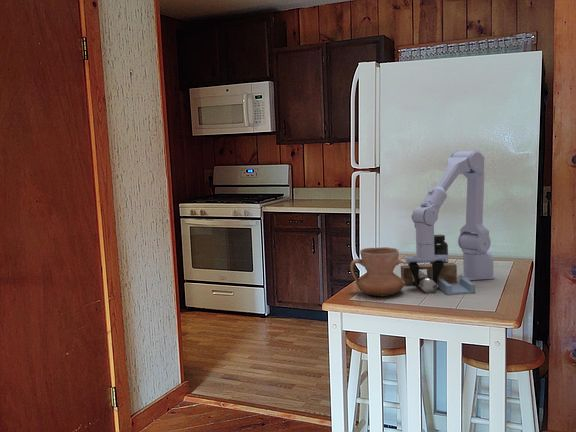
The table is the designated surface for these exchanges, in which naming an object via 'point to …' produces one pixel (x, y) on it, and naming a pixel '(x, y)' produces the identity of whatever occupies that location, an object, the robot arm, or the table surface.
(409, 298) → the table surface
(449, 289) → the cradle
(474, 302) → the table surface
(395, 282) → the ceramic jug
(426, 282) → the axle
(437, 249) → the supplement bottle
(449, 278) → the beam
